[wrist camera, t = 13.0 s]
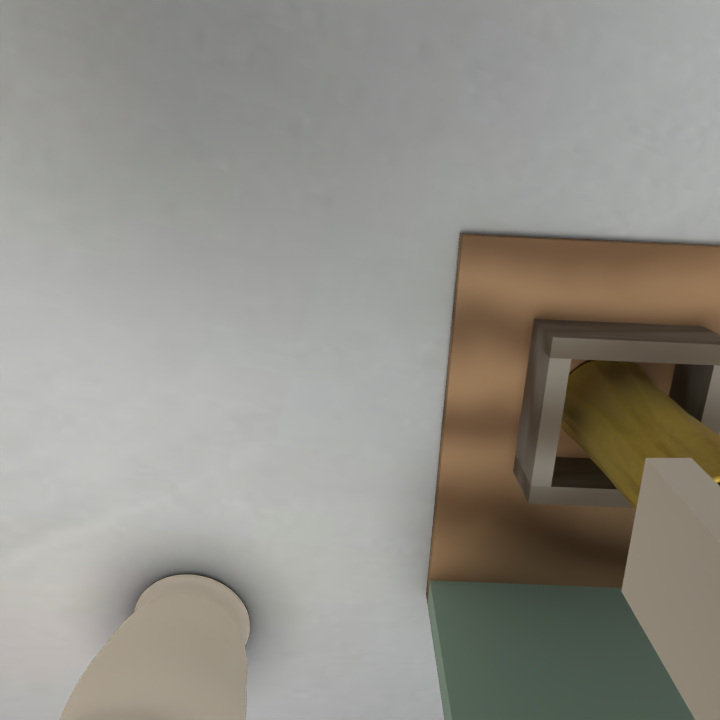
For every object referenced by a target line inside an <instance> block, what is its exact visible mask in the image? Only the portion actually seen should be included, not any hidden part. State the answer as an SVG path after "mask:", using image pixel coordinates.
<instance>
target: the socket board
mask: <svg viewBox="0 0 720 720" xmlns="http://www.w3.org/2000/svg"><path fill="white" fill-rule="evenodd" d="M593 360H604V361H627V362H633V363H635V364H637V365H638V366H640V367H641V368H642V369H643V370H644V372H645V373H646V374H647V375H648V377H649V378H650V379H651V380H652V382H653V383H654V384H655V385H656V386H657V387H658V388H659V389H660V390H661V391H663V392H664V393H665V394H666V395H668V396H669V397H670V398H671V399H672V400H674V401H675V402H676V403H677V404H678V405H679V406H680V407H682V408H683V409H684V410H685V411H686V412H687V413H688V414H690V415H691V416H693V417H694V418H696V419H697V420H698V421H700V422H701V423H703V424H704V425H705V426H706V427H708V428H709V429H710V430H712V431H713V432H714V433H716V434H717V435H718V436H719V437H720V245H699V244H677V243H656V242H634V241H613V240H591V239H570V238H548V237H527V236H505V235H484V234H462V233H460V242H459V252H458V263H457V274H456V284H455V295H454V305H453V316H452V327H451V337H450V348H449V358H448V369H447V379H446V390H445V401H444V411H443V422H442V432H441V443H440V453H439V464H438V475H437V485H436V496H435V506H434V517H433V527H432V538H431V549H430V559H429V570H428V580H427V591H426V597H427V604H428V594H429V583H430V580H433V581H458V582H484V583H509V584H535V585H560V586H586V587H611V588H622V585H623V579H624V574H625V568H626V563H627V557H628V552H629V547H630V541H631V536H632V530H633V525H634V519H635V514H636V510H635V509H634V507H633V506H632V505H631V504H630V503H629V502H628V501H627V499H626V498H625V497H624V496H623V495H622V494H621V493H620V491H619V490H618V489H617V488H616V487H615V486H614V484H613V483H612V482H611V481H610V479H609V478H608V477H607V476H606V475H605V474H604V472H603V471H602V470H601V469H600V468H599V467H598V466H597V465H596V464H595V463H594V462H593V461H592V460H591V459H590V457H589V456H588V455H587V454H586V453H585V452H584V450H583V449H582V448H581V447H580V446H579V445H578V444H577V443H576V442H575V441H574V440H573V439H572V438H571V437H569V436H568V435H567V434H566V433H565V432H564V430H563V429H562V427H561V421H562V415H563V408H564V402H565V396H566V389H567V383H568V377H569V375H570V374H571V373H572V372H573V371H575V370H576V369H577V368H578V367H580V366H581V365H583V364H585V363H587V362H590V361H593Z"/></svg>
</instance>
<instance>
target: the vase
mask: <svg viewBox="0 0 720 720" xmlns="http://www.w3.org/2000/svg"><path fill="white" fill-rule="evenodd" d="M561 427H562V429H563V430H564V432H565V433H566V434H567V435H568V436H569V437H571V438H572V439H573V440H574V441H575V442H576V443H577V444H578V445H579V446H580V447H581V448H582V449H583V450H584V452H585V453H586V454H587V455H588V456H589V457H590V459H591V460H592V461H593V462H594V463H595V464H596V465H597V466H598V467H599V468H600V469H601V470H602V471H603V472H604V474H605V475H606V476H607V477H608V478H609V479H610V481H611V482H612V483H613V484H614V486H615V487H616V488H617V489H618V490H619V491H620V493H621V494H622V495H623V496H624V497H625V498H626V499H627V501H628V502H629V503H630V504H631V505H632V506H633V507H634V509H635V510H636V508H637V503H638V497H639V492H640V486H641V481H642V475H643V470H644V465H645V459H646V458H692V459H693V460H694V461H695V462H696V463H697V464H698V465H699V466H700V467H701V468H702V469H703V470H704V471H705V472H706V473H707V474H708V475H709V476H710V477H711V478H712V479H713V480H714V481H715V482H716V483H717V484H718V485H719V486H720V437H719V436H718V435H717V434H716V433H714V432H713V431H712V430H710V429H709V428H708V427H706V426H705V425H704V424H703V423H701V422H700V421H698V420H697V419H696V418H694V417H693V416H691V415H690V414H688V413H687V412H686V411H685V410H684V409H683V408H682V407H680V406H679V405H678V404H677V403H676V402H675V401H674V400H672V399H671V398H670V397H669V396H668V395H666V394H665V393H664V392H663V391H661V390H660V389H659V388H658V387H657V386H656V385H655V384H654V383H653V382H652V380H651V379H650V378H649V377H648V375H647V374H646V373H645V372H644V370H643V369H642V368H641V367H640V366H638V365H637V364H635V363H633V362H627V361H604V360H593V361H590V362H587V363H585V364H583V365H581V366H580V367H578V368H577V369H576V370H575V371H573V372H572V373H571V374H570V375H569V377H568V383H567V389H566V396H565V402H564V408H563V415H562V421H561Z"/></svg>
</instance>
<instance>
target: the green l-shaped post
mask: <svg viewBox="0 0 720 720" xmlns="http://www.w3.org/2000/svg"><path fill="white" fill-rule="evenodd" d="M621 590H622V588H611V587H586V586H560V585H535V584H509V583H484V582H458V581H433V580H430V583H429V594H428V610H429V617H430V624H431V631H432V638H433V644H434V651H435V658H436V665H437V672H438V678H439V685H440V692H441V699H442V705H443V712H444V719H445V720H695V719H694V717H693V715H692V714H691V712H690V710H689V708H688V707H687V705H686V703H685V701H684V700H683V698H682V696H681V694H680V693H679V691H678V689H677V687H676V686H675V684H674V682H673V681H672V679H671V677H670V675H669V674H668V672H667V670H666V668H665V667H664V665H663V663H662V661H661V660H660V658H659V656H658V654H657V653H656V651H655V649H654V647H653V646H652V644H651V642H650V640H649V639H648V637H647V635H646V634H645V632H644V630H643V628H642V627H641V625H640V623H639V621H638V620H637V618H636V616H635V614H634V613H633V611H632V609H631V607H630V606H629V604H628V602H627V600H626V599H625V597H624V595H623V593H622V592H621Z"/></svg>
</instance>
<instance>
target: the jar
mask: <svg viewBox="0 0 720 720" xmlns="http://www.w3.org/2000/svg"><path fill="white" fill-rule="evenodd" d="M249 634H250V619H249V615H248V612H247V610H246V607H245V606H244V604H243V602H242V601H241V599H240V598H239V597H238V596H237V595H236V594H235V593H234V592H233V591H232V590H231V589H229V588H228V587H226V586H225V585H223V584H222V583H220V582H218V581H216V580H213V579H211V578H207V577H204V576H199V575H190V574H185V575H175V576H170V577H166V578H164V579H161V580H159V581H157V582H155V583H154V584H152V585H151V586H150V587H148V588H147V589H146V590H145V591H144V592H143V594H142V595H141V596H140V598H139V600H138V602H137V604H136V607H135V611H134V613H133V614H132V615H131V616H130V617H128V618H127V619H126V620H125V621H124V622H123V623H122V624H121V626H120V627H119V628H118V629H117V630H116V631H115V633H114V634H113V635H112V637H111V638H110V639H109V641H108V642H107V644H106V645H105V646H104V647H103V649H102V650H101V651H100V652H99V653H98V655H97V656H96V657H95V658H94V660H93V661H92V662H91V664H90V665H89V666H88V668H87V669H86V671H85V672H84V674H83V675H82V677H81V678H80V680H79V682H78V683H77V685H76V687H75V689H74V690H73V692H72V694H71V696H70V698H69V700H68V702H67V704H66V707H65V709H64V711H63V713H62V716H61V718H60V720H246V707H247V688H246V685H247V657H246V651H245V645H246V643H247V641H248V638H249Z"/></svg>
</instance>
